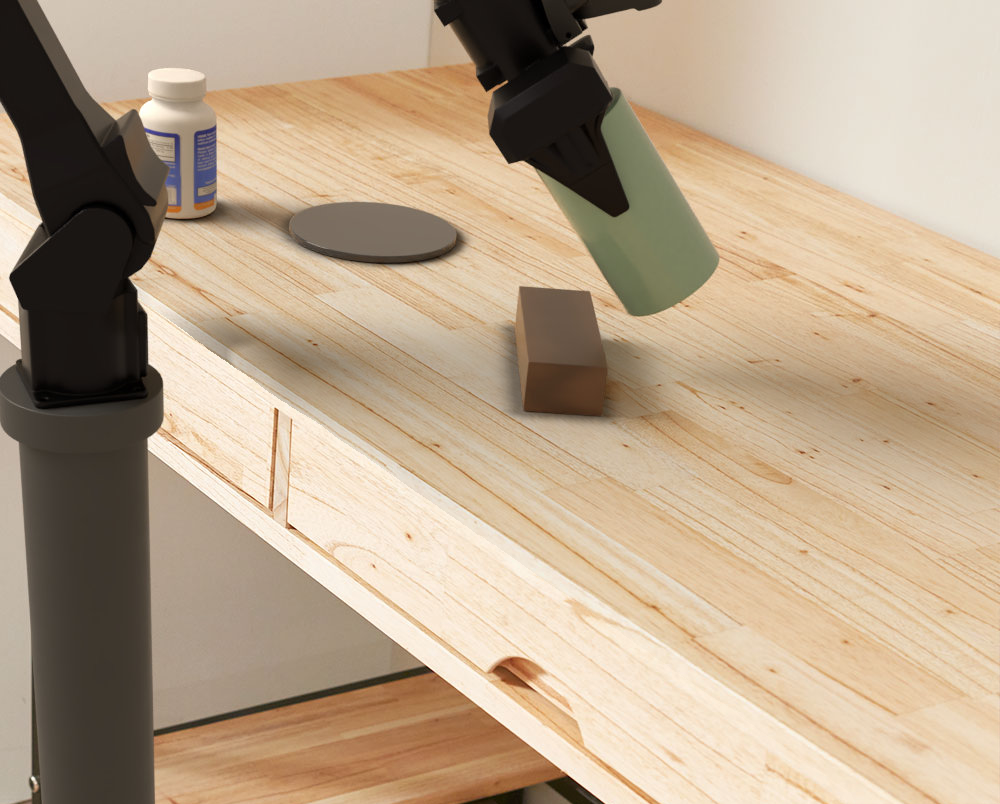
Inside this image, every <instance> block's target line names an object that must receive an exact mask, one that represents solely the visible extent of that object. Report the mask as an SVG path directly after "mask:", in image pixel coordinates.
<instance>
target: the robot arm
mask: <svg viewBox="0 0 1000 804" xmlns="http://www.w3.org/2000/svg"><path fill="white" fill-rule="evenodd" d="M662 3H663V0H433V12H434V13H435V15H436V16H437V18H438V20H439V22H440V23H441V24H442V26H443V27H444V28H446V27H447V26H449V27H450V29H451V30H452V32H453V33H454V35H455V36H456V38H457V39H458V41H459V43H460V44H461V46H462V47H463V49H464V51H465V52H466V54H467V55H468V57H469V58H470V60H471V61H472V64H474V66H475V75H476V76H475V77H476V79H477V80H478V82H479V83H480V85H481V87H482V88H483V89H484V91H485V92H486V93H488V92H490V91H491V90H492V89H494V88H495V87H497V86H500V87H498V88H497V89H495V90H493V91H492V93H491V97H490V103H489V106H488V107H489V108H488V112H487V125H488V135H489V137H490V138H491V140H492V141H493V143H494V144H495V146H496V147H497V149H498V150H499V152H500V153H501V155H502V157H503V158H504V160H505V162H506V163H507V165H513V164H516V163H518V162H524V163H526V164H528V165H529V166H531V167H532V166H533V167H534V168H536V169H538V170H539V171H541V172H543V173H544V174H546V175H548V176H549V177H551V178H553V179H554V180H556V181H557V182H559V183H561V184H562V185H564V186H565V187H567V188H569V189H570V190H572V191H573V192H575V193H576V194H578V195H579V196H581V197H582V198H584V199H585V200H587V201H588V202H590V203H592V204H593V205H595V206H596V207H598V208H599V209H601V210H602V211H604V212H605V213H607V214H608V215H610V216H611V217H618V216H619V215H621V214H623V213H624V212H626V211H628V210H629V208H630V205H629V202H628V200H627V197H626V194H625V192H624V189H623V186H622V183H621V181H620V178H619V176H618V173H617V170H616V168H615V165H614V162H613V160H612V157H611V154H610V152H609V149H608V146H607V144H606V141H605V138H604V136H603V133H602V130H601V125H602V122H603V119H604V116H605V113H606V109H607V107H608V106H609V105H610V102H611V100H612V99H613V97H612V94H611V91H610V89H609V87H610V86H609V84H608V80H606V78H605V76H604V75H603V72H602V71H601V69H600V67H599V66H598V64H597V62H596V60H595V59H594V57H593V56H594V52H595V44H594V41H593V38H592V35H591V34H586V35H584V36H582V37H580V38H578V39H577V40H576V41H574V42H572V43H570V44H569V45H567V44H568V43H569V42H571V41H572V40H574V39H575V38H577V37H579V36H580V35H582V34H583V32H584V31H586V30H588V29H589V27H588V24H587V20H589V19H594V18H599V17H602V16H608V15H611V14H616V13H620V12H624V11H630V10H636V11H638V12H641V11H646V10H650V9H653V8H655V7H658V6H659V5H661V4H662ZM502 84H503V85H502ZM0 104H1V106H2V108H3V110H4V111H5V113H6V116H8V118H9V120H10V122H11V124H12V125H13V127H14V129H15V131H16V133H17V135H18V138H19V141H20V144H21V149H22V153H23V158H24V161H25V162H24V163H25V167H26V171H27V176H28V180H29V186H30V189H31V194H32V197H33V201H34V203H35V206H36V208H37V211H38V213H39V217H40V220H41V222H40V223H39V224H38V226H37V227H36V229H35V230H34V232H33V234H32V235H31V238H30V239H29V241H28V243H27V244H26V246H25V248H24V249H23V251H22V253H21V255H20V256H19V257H18V260H17V261H16V263H15V265H14V266H13V268H12V270H11V272H10V273H9V276H8V280H9V282H10V285H11V287H12V289H13V291H14V293H15V296H16V298H17V305H18V322H19V340H20V354H21V355H20V356H21V358H18V359H16V360H15V364H16V369H17V371H18V373H19V375H20V378H21V380H22V382H23V384H24V386H25V388H26V390H27V392H28V394H29V396H30V398H31V400H32V402H33V404H34V406H35V407H36V408H38V409H52V408H62V407H71V406H80V405H89V404H99V403H108V402H117V401H127V400H136V399H143V398H146V397H147V396H148V388H147V387H146V385H145V384H144V382H143V380H142V379H141V377H146V376H147V375H148V373H149V365H150V364H149V323H148V322H149V320H148V312H147V311H146V310H145V308H144V307H143V306H142V304H141V302H140V301H139V294H138V292H139V291H138V290H139V289H138V288H137V287H136V285H135V284H134V283H133V281H132V280H131V279H130V277H131V276H133V275H135V274H136V273H138V272H139V271H141V270H142V269H143V268H144V266H145V265H146V264H147V263H148V261H149V260H150V259H151V257H152V254H153V252H154V249H155V247H156V244H157V241H158V238H159V236H160V233H161V231H162V227H163V225H164V222H165V218H166V217H165V216H166V213H167V210H168V203H169V202H168V192H167V189H166V186H165V182H166V179H167V177H168V174H169V172H170V167H169V166H168V165H167V164H165V163H164V162H163V161H162V160H161V159H160V158H159V157H158V156H157V154H156V153H155V152H154V150H153V149H152V147H151V145H150V143H149V140H148V138H147V135H146V132H145V129H144V126H143V123H142V120H141V118H140V116H139V112H138V110H137V109H135V108H132V109H130V110H129V111H127V112H126V113H124V114H123V115H122V116H120V117H118V118H117V119H115V118H114V117H113V116H112V115H111V114H110V113H109V112H108V111H106V109H105V108H104V107H103V106H101V105H100V104H99V103H98V102H97V101H96V100H95V99H94V98H93V97H92V95H91V94H90V93H89V91H88V90H87V89H86V88H85V85H84V83H83V82H82V80H81V78H80V76H79V74H78V73H77V71H76V69H75V66H74V65H73V64H72V62H71V59H70V58H69V56H68V54H67V52H66V51H65V49H64V46H63V45H62V43H61V42H60V40H59V38H58V35H57V34H56V32H55V30H54V28H53V27H52V25H51V23H50V21H49V19H48V17H47V16H46V14H45V12H44V10H43V8H42V6H41V5H40V3H39V1H38V0H0ZM533 167H532V168H533ZM534 168H533V169H534ZM148 364H149V365H148Z"/></svg>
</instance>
